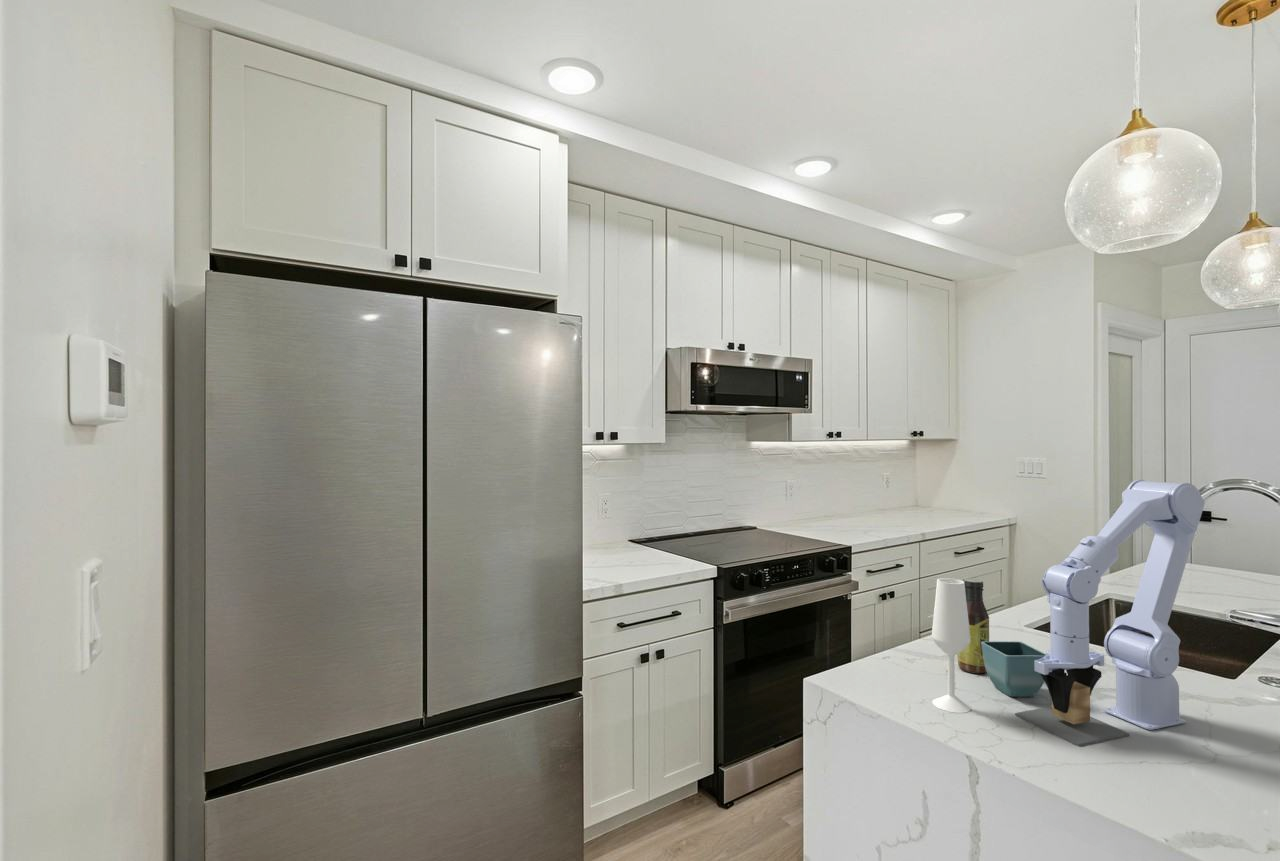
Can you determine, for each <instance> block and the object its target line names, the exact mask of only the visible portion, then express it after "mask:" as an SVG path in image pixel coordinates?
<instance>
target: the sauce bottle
mask: <svg viewBox="0 0 1280 861" xmlns="http://www.w3.org/2000/svg"><path fill="white" fill-rule="evenodd" d="M962 581H964V584H965V593H966V602H967V611H968V621H969V630H970V639H971V641H970V644H969V645H968V647H967V648H966V649H965V650H963V651H962V652H960V653H959V654H957V664H958V668H959V669H961V670H963V671H965V672H968V673H972V674H987V671H986V669H985V665H984V659H983V652H982V644H981V642H984V641H990V616H989V614H988V611H987V608H986V606H985V603H984V598H983V588H984V581H983V580H980V579H976V578H964V579H962Z"/></svg>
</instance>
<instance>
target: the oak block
mask: <svg viewBox="0 0 1280 861" xmlns="http://www.w3.org/2000/svg"><path fill="white" fill-rule="evenodd" d="M1051 707H1052V715H1055V716H1057V717H1059V718H1061V719H1063V720H1065V721H1067V722H1069V723H1071V724H1078V723H1083V722H1089V721H1090V717H1091V696H1090V687H1088V686H1085V685H1083V684H1080V683H1078V682H1074V683H1073V686H1072V688H1071V692H1070V699H1069V708H1068V712H1067V713H1063V712H1061V711H1058V710H1056V709H1054V706H1053V703H1052V702H1051Z"/></svg>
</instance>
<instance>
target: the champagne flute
mask: <svg viewBox="0 0 1280 861" xmlns="http://www.w3.org/2000/svg"><path fill="white" fill-rule="evenodd" d="M935 589H936V590H935V597H934V598H935V599H934V607H933V608H934V609H933V617H932V628H931V638H932V641H933V642H934V643H935V645H936V646H937V647H938V648H939V649H941V650H940V651H942V652H943V653H944V654H946V655H947V694H945V695H943V696H939V697H937V698H936V697H935V698H934V699H932V703H931V704H932V705H933V706H935V707H936V708H938V709H940V710H943V711H945V712H950V713H957V714H964V713H969V712H970V711H972V710H971V709H972V708H971V706H970V705H969V704H968V703H966V702H965V701H964V700H962V699H961V698H959V697H957V696H956V695H955V691H956V690H955V687H956V686H955V685H956V684H955V675H956V674H955V656H958V654H959V653H960V652H962V651H963V650H965V649H966V648H967V647H968V645H969V644H970V641H971V639H970V630H969V621H968V611H967V602H966V593H965V584H964V581H963V580H961V579H957V578H947V577H944V578H943V577H941V578H937V579H936V587H935Z"/></svg>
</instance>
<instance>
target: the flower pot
mask: <svg viewBox="0 0 1280 861" xmlns="http://www.w3.org/2000/svg"><path fill="white" fill-rule="evenodd" d="M981 644H982V652H983V659H984V665H985V669H986V671H987V672H986V674H987V676H988V677H989V679H990V681H991V683H992V684H993V686H994V687H995V688H996V689H998V690H999V691H1001V692H1002V693H1004V694H1005V695H1006V696H1008V697H1034V696H1035V695H1036V694H1037V693H1038V692H1039V691H1040V690H1041V689H1042V687H1043V684H1044V683H1045V681H1044V679H1043V678H1042V676H1041V674H1040V673H1039V672H1036V671H1034V660H1038V659H1041V658H1043V657H1045V656H1046V652H1045V653H1044V652H1043V651H1041V650H1039V649H1036V648H1034V647H1033V646H1031V645H1028V644H1026V643H1024V642H1022V641H1017V640H1015V641H1013V640H1012V641H1005V640H1004V641H1000V640H999V641H995V640H993V641H992V640H989V641H984V642H981Z"/></svg>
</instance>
